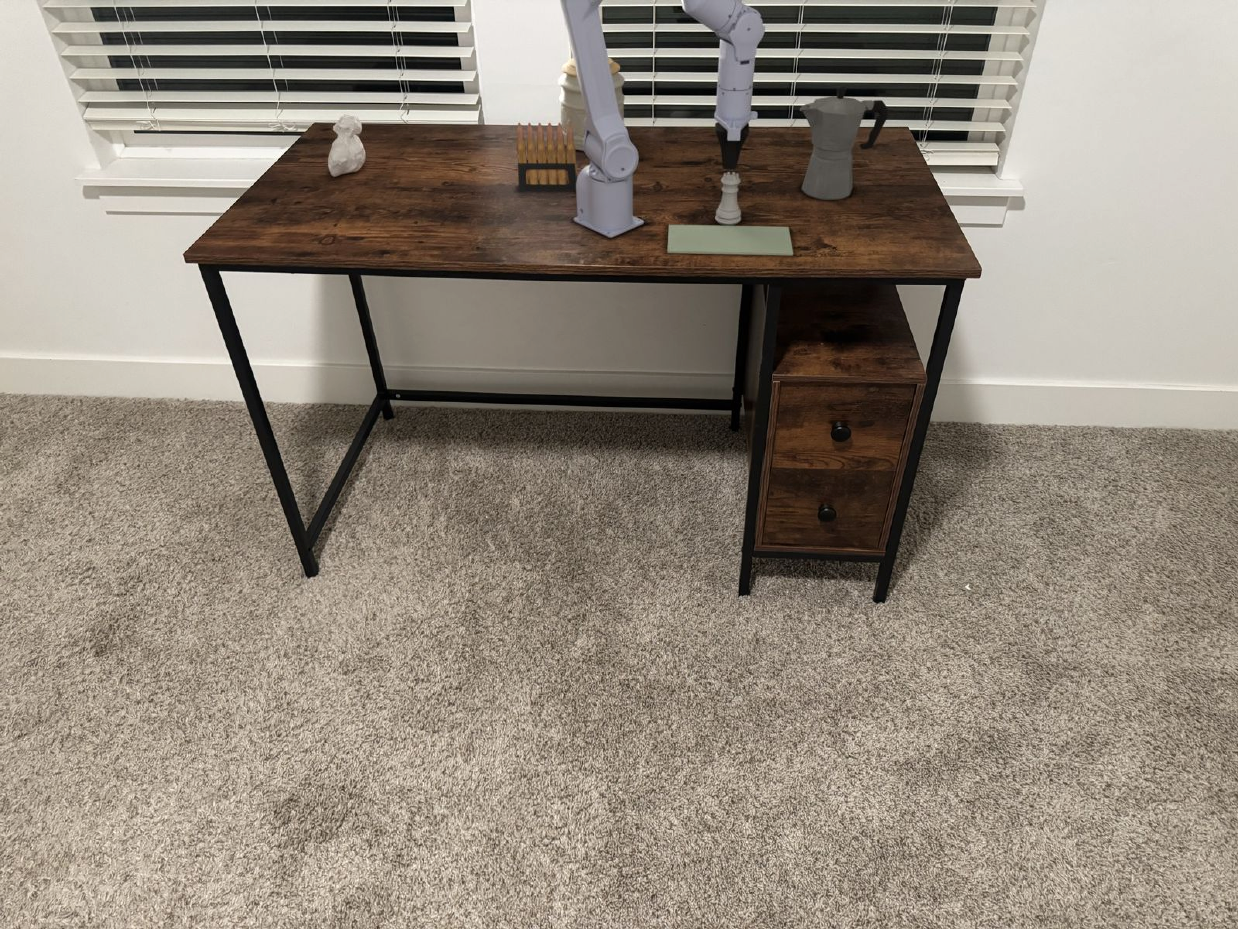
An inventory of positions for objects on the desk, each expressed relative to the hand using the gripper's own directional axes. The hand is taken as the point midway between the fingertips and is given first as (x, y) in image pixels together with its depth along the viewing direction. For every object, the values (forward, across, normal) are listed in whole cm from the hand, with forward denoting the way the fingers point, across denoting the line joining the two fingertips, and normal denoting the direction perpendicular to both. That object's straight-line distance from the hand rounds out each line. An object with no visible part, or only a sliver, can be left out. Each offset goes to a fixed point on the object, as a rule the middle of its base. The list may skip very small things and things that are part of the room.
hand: (729, 167), depth 153 cm
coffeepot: (+7, +6, -19) cm, 21 cm away
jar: (+7, +29, +26) cm, 40 cm away
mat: (+6, -15, 0) cm, 16 cm away
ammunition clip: (+7, +5, +32) cm, 33 cm away
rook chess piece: (+7, -7, 0) cm, 10 cm away
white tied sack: (+7, +13, +72) cm, 73 cm away
